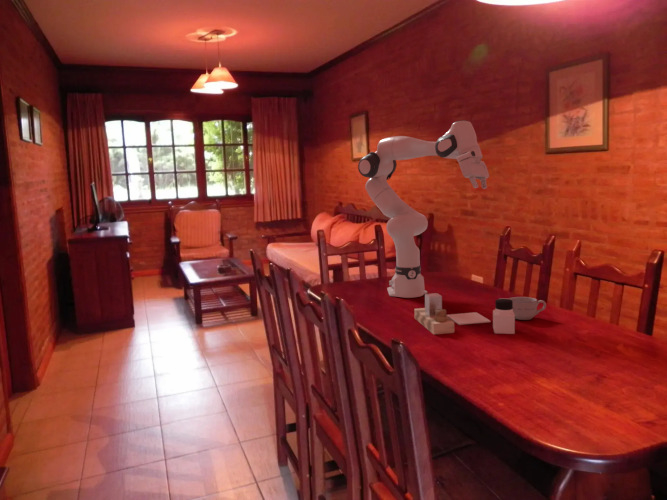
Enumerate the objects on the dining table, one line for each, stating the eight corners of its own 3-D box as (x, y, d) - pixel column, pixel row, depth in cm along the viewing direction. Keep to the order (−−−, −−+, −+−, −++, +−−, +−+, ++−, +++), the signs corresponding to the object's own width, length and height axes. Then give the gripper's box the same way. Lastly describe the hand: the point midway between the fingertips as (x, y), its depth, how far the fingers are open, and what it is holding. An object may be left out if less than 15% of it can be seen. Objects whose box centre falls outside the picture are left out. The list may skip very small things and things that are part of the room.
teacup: (505, 320, 210) (506, 300, 209) (510, 313, 220) (511, 294, 218) (543, 324, 204) (544, 303, 202) (546, 316, 213) (547, 297, 212)
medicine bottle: (514, 334, 193) (515, 302, 191) (494, 333, 195) (494, 301, 193) (512, 328, 200) (513, 297, 198) (492, 327, 201) (493, 296, 200)
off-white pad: (446, 315, 219) (446, 314, 219) (476, 313, 221) (476, 312, 221) (459, 324, 206) (459, 323, 206) (490, 322, 209) (490, 320, 209)
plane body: (414, 318, 217) (414, 299, 216) (433, 316, 219) (433, 297, 217) (433, 334, 196) (433, 313, 195) (454, 332, 197) (454, 311, 196)
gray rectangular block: (425, 314, 209) (424, 294, 207) (437, 312, 210) (437, 293, 208) (429, 317, 204) (429, 297, 203) (441, 316, 205) (441, 296, 203)
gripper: (474, 161, 234) (483, 191, 233) (454, 157, 218) (463, 189, 216) (487, 156, 231) (496, 186, 229) (468, 151, 214) (478, 184, 213)
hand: (480, 188), depth 222 cm, fingers open, 8 cm apart
